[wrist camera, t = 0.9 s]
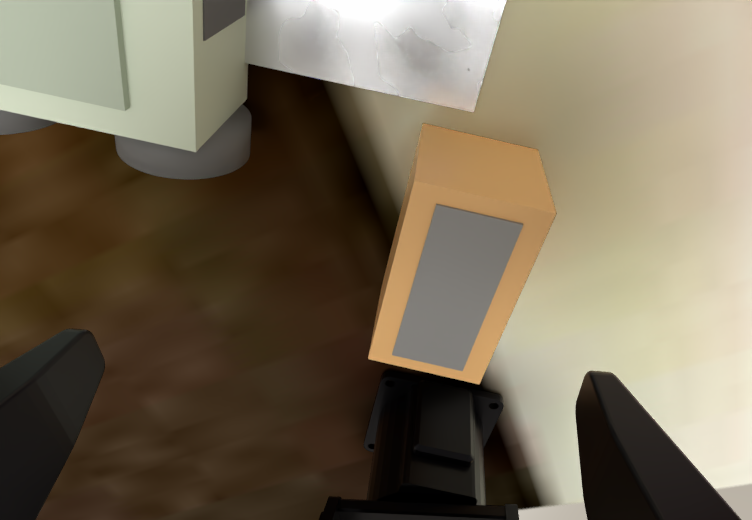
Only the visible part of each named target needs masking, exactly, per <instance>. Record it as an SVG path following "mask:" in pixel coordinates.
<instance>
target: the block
mask: <svg viewBox="0 0 752 520" xmlns="http://www.w3.org/2000/svg"><path fill="white" fill-rule="evenodd" d="M556 214H557V213H556V210H555V206H554V203H553V199H552V196H551V193H550V189H549V186H548V182H547V179H546V176H545V172H544V169H543V165H542V162H541V159H540V155H539V152H538V150H537V149H532V148H528V147H524V146H519V145H515V144H511V143H506V142H502V141H498V140H494V139H489V138H485V137H481V136H476V135H472V134H468V133H463V132H459V131H455V130H450V129H446V128H442V127H438V126H433V125H429V124H425V123H423V125H422V129H421V133H420V136H419V140H418V144H417V148H416V152H415V156H414V160H413V164H412V168H411V172H410V176H409V180H408V184H407V188H406V192H405V196H404V200H403V204H402V208H401V212H400V216H399V219H398V223H397V227H396V231H395V235H394V239H393V243H392V247H391V251H390V255H389V259H388V263H387V267H386V271H385V275H384V279H383V283H382V288H381V293H380V298H379V303H378V309H377V314H376V319H375V324H374V330H373V335H372V340H371V345H370V351H369V356H368V359H370V360H374V361H379V362H383V363H387V364H392V365H396V366H401V367H405V368H409V369H414V370H418V371H422V372H427V373H431V374H436V375H440V376H444V377H449V378H453V379H457V380H462V381H466V382H471V383H475V384H480V382H481V380H482V377H483V375H484V373H485V371H486V369H487V366H488V364H489V362H490V360H491V358H492V355H493V353H494V351H495V349H496V347H497V344H498V342H499V340H500V338H501V335H502V333H503V331H504V329H505V327H506V324H507V322H508V320H509V318H510V316H511V313H512V311H513V309H514V307H515V304H516V302H517V300H518V298H519V296H520V293H521V291H522V289H523V287H524V285H525V282H526V280H527V278H528V276H529V274H530V271H531V269H532V267H533V265H534V262H535V260H536V258H537V256H538V254H539V251H540V249H541V247H542V245H543V243H544V240H545V238H546V236H547V234H548V232H549V229H550V227H551V225H552V223H553V220H554V218H555V216H556Z"/></svg>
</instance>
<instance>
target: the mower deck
mask: <svg viewBox="0 0 752 520" xmlns="http://www.w3.org/2000/svg"><path fill="white" fill-rule="evenodd" d="M246 9H247V0H0V135H4V134H15V133H23V132H28V131H33V130H37V129H41V128H44V127H48V126H50V125H53V124H55V123H57V122H59V123H64V124H68V125H73V126H77V127H82V128H87V129H91V130H96V131H101V132H105V133H110V134H114V135H115V142H116V150H117V154H118V155H119V157H120V158H121V159H122V160H123V161H124V162H125V163H126V164H128V165H129V166H131V167H133V168H135V169H137V170H139V171H142V172H145V173H148V174H151V175H155V176H160V177H165V178H173V179H205V178H212V177H217V176H221V175H225V174H228V173H231V172H233V171H235V170H237V169H239V168H240V167H242V166H243V165H244V164H245V163H246V162H247V161H248V159H249V156H250V144H251V113H250V111H249V110H248V109H247V108H246V107H245V106H244V105H243V103H244V102H245V101H246V99H247V82H248V63H245V41H246Z"/></svg>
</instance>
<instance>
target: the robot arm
mask: <svg viewBox="0 0 752 520" xmlns="http://www.w3.org/2000/svg"><path fill="white" fill-rule="evenodd" d="M104 368H105V361H104V357H103V355H102V353H101V351H100V349H99V346H98V344H97V342H96V340H95V338H94V336H93V334H92V333H91V332H90V331H88V330H82V329H66V330H64V331H62V332H60V333H58V334H57V335H55V336H53V337H52V338H50V339H48V340H47V341H45V342H43V343H42V344H40V345H38V346H37V347H35V348H33V349H31V350H30V351H28V352H26V353H25V354H23V355H21V356H20V357H18V358H16V359H15V360H13V361H11V362H10V363H8V364H6V365H5V366H3V367H1V368H0V520H36V518H37V516H38V514H39V512H40V510H41V508H42V507H43V505H44V503H45V501H46V499H47V497H48V495H49V493H50V491H51V489H52V487H53V486H54V484H55V482H56V480H57V478H58V476H59V474H60V472H61V470H62V468H63V466H64V465H65V463H66V461H67V459H68V457H69V455H70V453H71V451H72V449H73V447H74V444H75V442H76V440H77V438H78V435H79V433H80V430H81V428H82V425H83V423H84V420H85V418H86V415H87V413H88V410H89V408H90V405H91V403H92V400H93V398H94V395H95V393H96V390H97V388H98V385H99V383H100V380H101V378H102V375H103V372H104ZM388 380H392V381H388ZM503 406H504V405H503V398H502V397H501V396H500V395H498V394H494V393H490V392H485V391H481V390H476V389H471V388H467V387H462V386H458V385H453V384H448V383H444V382H439V381H435V380H430V379H425V378H421V377H416V376H412V375H407V374H402V373H398V372H393V371H387V372H384V373H383V374H382V376H381V380H380V383H379V387H378V391H377V395H376V398H375V402H374V406H373V410H372V413H371V417H370V421H369V425H368V428H367V432H366V436H365V440H364V448H365V449H366V450H368V451H371V452H374V453H373V459H372V466H371V473H370V480H369V486H368V493H367V500H354V499H341V497H332V496H329V498H328V501H327V503H326V506H325V509H324V512H322V513H321V515H320V518H319V520H519V515H518V507H517V504H505V506H493V505H486V495H485V472H484V449H483V448H484V446H485V444H486V442H487V440H488V438H489V436H490V434H491V432H492V430H493V428H494V426H495V424H496V422H497V420H498V418H499V416H500V414H501V412H502V409H503ZM576 424H577V434H578V445H579V456H580V467H581V477H582V488H583V497H584V503H585V508H586V514H587V519H588V520H741V519H740V518H739V516H738V515H737V514H736V513H735V512H734V511H733V510H732V508H731V507H730V506H729V505H728V504H727V503H726V501H725V500H724V499H723V498H722V497H721V496H720V495H719V494H718V492H717V491H716V490H715V489H714V488H713V487H712V485H711V484H710V483H709V482H708V481H707V480H706V479H705V477H704V476H703V475H702V474H701V473H700V472H699V471H698V469H697V468H696V467H695V466H694V465H693V464H692V462H691V461H690V460H689V459H688V458H687V457H686V456H685V454H684V453H683V452H682V451H681V450H680V449H679V448H678V446H677V445H676V444H675V443H674V442H673V441H672V440H671V438H670V437H669V436H668V435H667V434H666V433H665V432H664V430H663V429H662V428H661V427H660V426H659V425H658V424H657V422H656V421H655V420H654V419H653V418H652V417H651V416H650V414H649V413H648V412H647V411H646V410H645V409H644V408H643V406H642V405H641V404H640V403H639V402H638V401H637V400H636V398H635V397H634V396H633V395H632V394H631V393H630V391H629V390H628V389H627V388H626V387H625V386H624V385H623V383H622V382H621V381H620V380H619V379H618V378H617V377H616V376H615V375H614V374H613V373H610V372H601V371H589V372H587V373H586V375H585V377H584V380H583V383H582V386H581V389H580V392H579V395H578V398H577V401H576Z"/></svg>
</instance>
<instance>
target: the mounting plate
mask: <svg viewBox="0 0 752 520" xmlns="http://www.w3.org/2000/svg"><path fill="white" fill-rule="evenodd" d="M505 3H506V0H247V9H246V41H245V63H248V64H253V65H257V66H262V67H267V68H271V69H276V70H280V71H285V72H290V73H294V74H299V75H303V76H308V77H313V78H317V79H322V80H326V81H331V82H336V83H340V84H345V85H349V86H354V87H359V88H363V89H368V90H372V91H377V92H382V93H386V94H391V95H395V96H400V97H405V98H409V99H414V100H418V101H423V102H428V103H432V104H437V105H441V106H446V107H451V108H455V109H460V110H464V111H469V112H474V110H475V106H476V103H477V99H478V96H479V92H480V89H481V86H482V82H483V79H484V75H485V72H486V68H487V65H488V62H489V58H490V55H491V51H492V48H493V44H494V41H495V38H496V34H497V31H498V27H499V24H500V20H501V17H502V14H503V10H504V7H505Z"/></svg>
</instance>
